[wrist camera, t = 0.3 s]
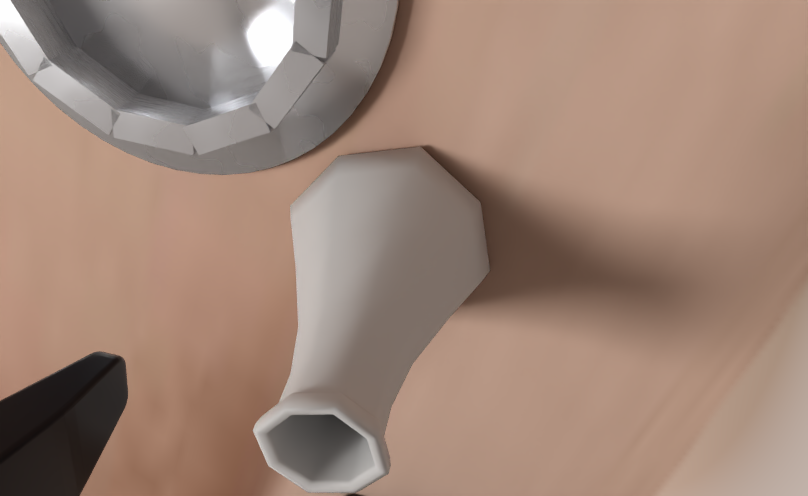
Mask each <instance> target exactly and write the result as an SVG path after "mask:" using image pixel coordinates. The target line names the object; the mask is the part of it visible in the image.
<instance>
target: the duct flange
mask: <svg viewBox="0 0 808 496" xmlns="http://www.w3.org/2000/svg"><path fill="white" fill-rule="evenodd" d="M398 7H399V0H0V43H1V44H2V46H3V47H4V48H5V50H6V51H7V52H8V54H9V55H10V57H11V58H12V59H13V61H14V62H15V63H16V65H17V66H18V67H19V68H20V69H21V70H22V71H23V72H24V74H25V75H26V76H27V77H28V78H29V79H30V80H31V82H32V83H33V84H34V85H35V86H36V87H37V88H38V89H39V90H40V91H41V92H42V93H43V94H44V95H45V96H46V97H47V98H48V99H49V100H50V101H52V102H53V103H54V104H55V105H56V106H57V107H58V108H59V109H60V110H62V111H63V112H64V113H65V114H67V115H68V116H69V117H70V118H72V119H73V120H74V121H75V122H77V123H78V124H79V125H81V126H82V127H84V128H85V129H87V130H88V131H90V132H91V133H93V134H94V135H96V136H97V137H99V138H100V139H102V140H103V141H105V142H107V143H109V144H111V145H113V146H115V147H117V148H119V149H121V150H123V151H124V152H126V153H128V154H131V155H133V156H136V157H138V158H141V159H143V160H146V161H148V162H151V163H154V164H157V165H161V166H165V167H168V168H172V169H175V170H180V171H187V172H193V173H199V174H218V175H229V174H240V173H250V172H254V171H259V170H263V169H268V168H272V167H275V166H277V165H280V164H282V163H285V162H288V161H290V160H293V159H295V158H297V157H299V156H300V155H302V154H304V153H306V152H308V151H309V150H311V149H313V148H315V147H316V146H317V145H319V144H320V143H321V142H323V141H324V140H325V139H326V138H328V137H329V136H330V135H332V134H333V133H334V132H335V131H336V130H337V129H338V128H339V127H340V126H341V125H342V124H343V123H344V122H345V121H346V120H347V119H348V118H349V117H350V116H351V115H352V113H353V112H354V110H355V109H356V108H357V106H358V105H359V103H360V102H361V101H362V99H363V98H364V96H365V95H366V94H367V92H368V90H369V89H370V87H371V85H372V83H373V81H374V79H375V77H376V75H377V73H378V72H379V70H380V68H381V66H382V64H383V61H384V58H385V55H386V52H387V50H388V47H389V44H390V41H391V38H392V35H393V30H394V25H395V21H396V16H397V11H398Z"/></svg>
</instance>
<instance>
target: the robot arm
mask: <svg viewBox="0 0 808 496" xmlns="http://www.w3.org/2000/svg"><path fill="white" fill-rule="evenodd" d="M127 399H128V386H127V374H126V364H125V360H124V359H123V358H122V357H121V356H118V355H114V354H110V353H105V352H94V353H92V354H90V355H88V356H86V357H84V358H82V359H80V360H78V361H76V362H74V363H72V364H70V365H68V366H66V367H65V368H63V369H61V370H59V371H57V372H55V373H53V374H51V375H49V376H47V377H45V378H43V379H41V380H39V381H37V382H36V383H34V384H32V385H30V386H28V387H26V388H24V389H22V390H20V391H18V392H16V393H14V394H12V395H10V396H8V397H7V398H5V399H3V400H1V401H0V496H79V495H80V494H81V492H82V490H83V488H84V486H85V484H86V483H87V481H88V479H89V477H90V475H91V473H92V471H93V469H94V467H95V465H96V463H97V461H98V459H99V457H100V455H101V453H102V451H103V450H104V448H105V446H106V444H107V442H108V440H109V438H110V436H111V434H112V432H113V430H114V428H115V426H116V424H117V422H118V420H119V418H120V416H121V414H122V412H123V411H124V408H125V406H126V403H127Z"/></svg>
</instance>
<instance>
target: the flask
mask: <svg viewBox="0 0 808 496" xmlns="http://www.w3.org/2000/svg"><path fill="white" fill-rule="evenodd" d="M290 212H291V227H292V236H293V246H294V255H295V265H296V285H297V306H298V332H297V338H296V344H295V350H294V356H293V362H292V368H291V374H290V376H289V379H288V381H287V384H286V386H285V389H284V391H283V394H282V396H281V399H280V401H279V403H278V404H277V405H276V406H274V407H273V408H272V409H270V410H269V411H268V412H267V413H265V414H264V415H263V416H261V418H260V419H259V420H258V421H257V422H256V424H255V427H254V429H253V432H254V434H255V437H256V439H257V441H258V443H259V446H260V448H261V450H262V452H263V455H264V457H265V459H266V461H267V464H268V466H269V467H271V468H272V469H274V470H275V471H277V472H278V473H280V474H281V475H283V476H284V477H286V478H287V479H289V480H290V481H291V482H293V483H294V484H296V485H297V486H299V487H300V488H302V489H303V490H305V491H306V492H308V493H357V492H358V491H360V490H362V489H363V488H365V487H367V486H368V485H370V484H372V483H373V482H375V481H377V480H378V479H380V478H382V477H384V476H385V475H387V474H388V473H389V470H390V466H391V465H390V455H389V452H388V449H387V445H386V442H385V438H384V434H385V430H386V426H387V422H388V418H389V414H390V410H391V406H392V404H393V402H394V400H395V398H396V396H397V394H398V392H399V390H400V388H401V386H402V384H403V382H404V380H405V378H406V376H407V374H408V372H409V370H410V368H411V366H412V364H413V363H414V361H415V360H416V359H417V358H418V356H419V355H420V354H421V353H422V351H423V350H424V349H425V348H426V346H427V345H428V344H429V343H430V341H431V340H432V339H433V338H434V336H435V335H436V334H437V333H438V331H439V330H440V329H441V328H442V326H443V325H444V324H445V323H446V321H447V320H448V319H449V318H450V316H451V315H452V314H453V313H454V312H455V311H456V310H457V309H458V307H459V306H460V305H461V304H462V303H463V302H464V301H465V300H466V298H467V297H468V296H469V295H470V294H471V293H472V292H473V291H474V290H475V288H476V287H477V286H478V285H479V284H480V283H481V282H482V280H483V279H484V278H485V277H486V275H487V274H488V273H489V272H490V266H489V259H488V252H487V245H486V237H485V230H484V223H483V216H482V209H481V202H480V201H478V200H477V199H476V198H475V197H474V196H473V195H472V194H471V193H470V192H469V191H468V190H467V189H466V188H464V187H463V186H462V185H461V184H460V183H459V182H458V181H457V180H456V179H455V178H454V177H453V176H452V175H451V174H449V173H448V172H447V171H446V170H445V169H444V168H443V167H442V166H441V165H440V164H439V163H438V162H437V161H435V160H434V159H433V158H432V157H431V156H430V155H429V154H428V153H427V152H426V151H425V150H424V149H423V148H421V147H413V148H404V149H395V150H386V151H377V152H368V153H359V154H350V155H341V156H338V157H337V158H336V159H335V160H334V161H333V162H332V163H331V164H330V165H329V166H328V167H327V168H326V169H325V170H324V171H323V172H322V173H321V174H320V176H319V177H318V178H317V179H316V180H315V181H314V182H313V183H312V184H311V185H310V186H309V187H308V188H307V189H306V190H305V191H304V192H303V193H302V194H301V195H300V196H299V197H298V198H297V199H296V200H295V201H294V202H293V203H292V204H291V205H290Z"/></svg>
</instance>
